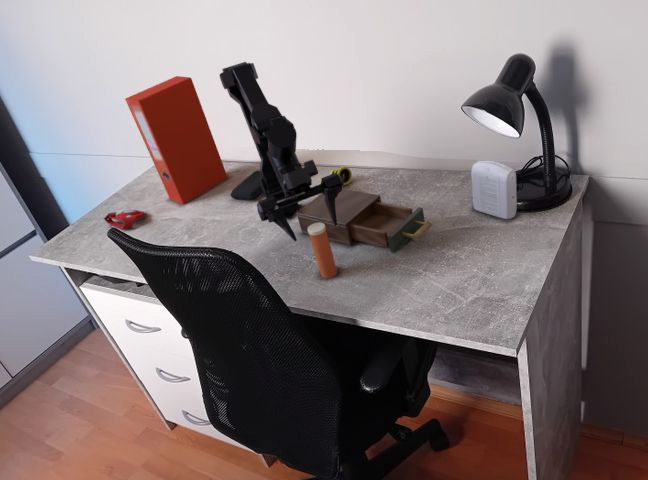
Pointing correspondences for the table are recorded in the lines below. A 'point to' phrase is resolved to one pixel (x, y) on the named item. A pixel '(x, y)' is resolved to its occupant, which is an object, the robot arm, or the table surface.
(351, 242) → the organiser
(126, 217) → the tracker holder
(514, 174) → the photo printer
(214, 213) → the table surface
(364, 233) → the drawer
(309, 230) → the tube
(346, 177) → the opera glasses
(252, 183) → the carrying case
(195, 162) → the file binder
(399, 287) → the table surface
